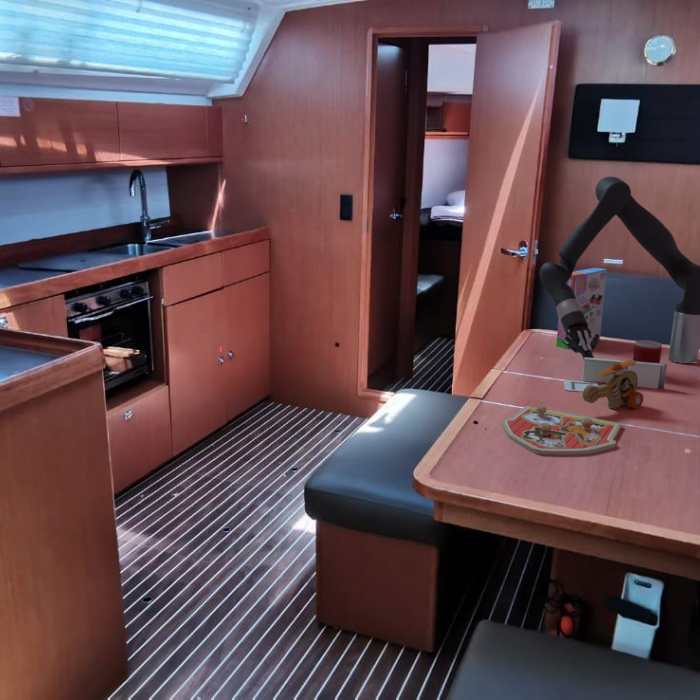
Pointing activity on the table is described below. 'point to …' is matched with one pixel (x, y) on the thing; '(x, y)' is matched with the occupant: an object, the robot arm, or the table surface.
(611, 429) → the knob puzzle
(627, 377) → the toy helicopter
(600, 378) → the swing panel
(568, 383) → the card
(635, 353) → the canned food
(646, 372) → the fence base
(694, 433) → the table surface
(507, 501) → the table surface
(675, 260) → the robot arm
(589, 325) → the game box
